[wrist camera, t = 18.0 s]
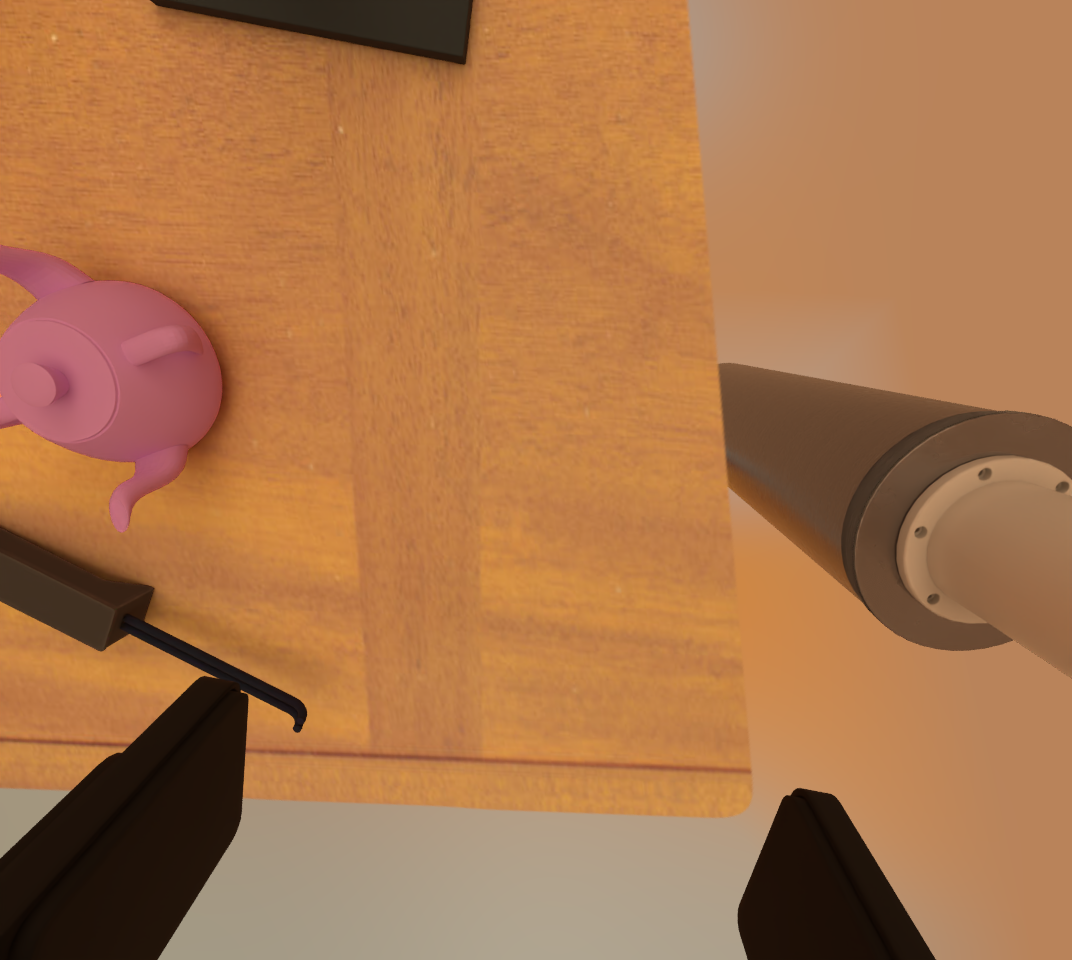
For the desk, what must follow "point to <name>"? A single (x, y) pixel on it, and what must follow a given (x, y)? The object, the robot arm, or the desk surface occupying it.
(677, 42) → the desk surface
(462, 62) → the mat
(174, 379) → the teapot
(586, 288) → the desk surface
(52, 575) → the hook tool
